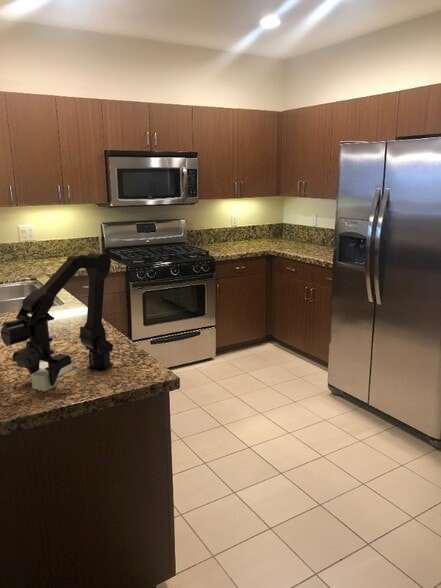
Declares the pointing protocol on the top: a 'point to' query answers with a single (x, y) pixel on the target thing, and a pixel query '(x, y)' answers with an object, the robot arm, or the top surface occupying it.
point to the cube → (41, 380)
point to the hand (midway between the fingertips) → (44, 383)
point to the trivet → (62, 371)
